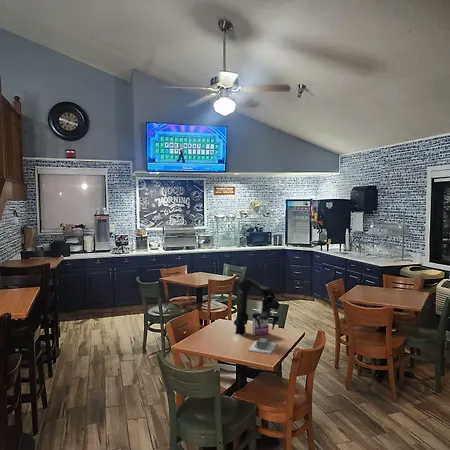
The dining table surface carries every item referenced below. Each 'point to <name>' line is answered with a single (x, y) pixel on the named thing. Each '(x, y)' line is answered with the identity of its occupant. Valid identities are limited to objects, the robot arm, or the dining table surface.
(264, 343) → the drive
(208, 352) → the dining table surface
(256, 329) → the candy bar box
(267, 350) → the tray
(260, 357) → the dining table surface
